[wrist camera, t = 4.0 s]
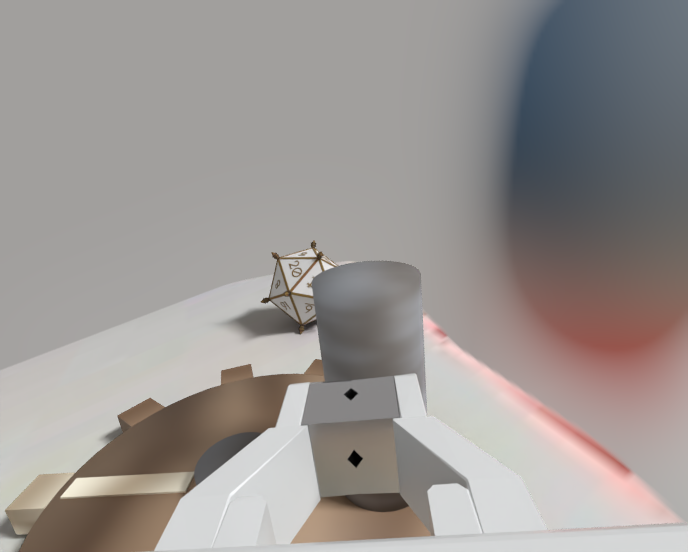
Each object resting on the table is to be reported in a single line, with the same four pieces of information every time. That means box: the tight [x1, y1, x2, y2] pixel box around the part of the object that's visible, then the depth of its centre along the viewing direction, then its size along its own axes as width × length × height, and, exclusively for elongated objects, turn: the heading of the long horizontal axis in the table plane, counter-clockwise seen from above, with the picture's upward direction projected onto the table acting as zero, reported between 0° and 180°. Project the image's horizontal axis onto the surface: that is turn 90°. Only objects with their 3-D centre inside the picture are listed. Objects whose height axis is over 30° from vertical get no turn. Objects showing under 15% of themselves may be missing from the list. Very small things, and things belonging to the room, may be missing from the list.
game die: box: [261, 241, 338, 334], centre depth 40 cm, size 9×8×10 cm
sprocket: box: [5, 261, 430, 552], centre depth 18 cm, size 23×23×12 cm
